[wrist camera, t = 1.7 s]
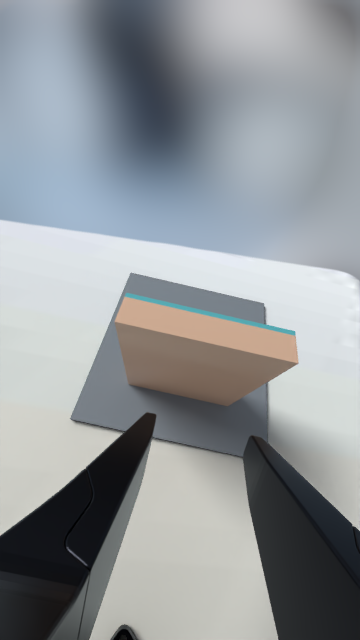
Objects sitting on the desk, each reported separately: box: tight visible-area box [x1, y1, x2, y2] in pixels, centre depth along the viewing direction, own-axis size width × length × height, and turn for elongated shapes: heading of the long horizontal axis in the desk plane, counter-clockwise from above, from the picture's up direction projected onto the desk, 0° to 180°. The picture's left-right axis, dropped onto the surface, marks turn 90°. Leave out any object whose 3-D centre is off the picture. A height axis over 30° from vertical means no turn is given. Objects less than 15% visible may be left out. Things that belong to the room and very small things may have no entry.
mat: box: [70, 273, 268, 457], centre depth 25 cm, size 18×18×1 cm
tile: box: [115, 293, 298, 406], centre depth 17 cm, size 2×10×12 cm, turn 80°
